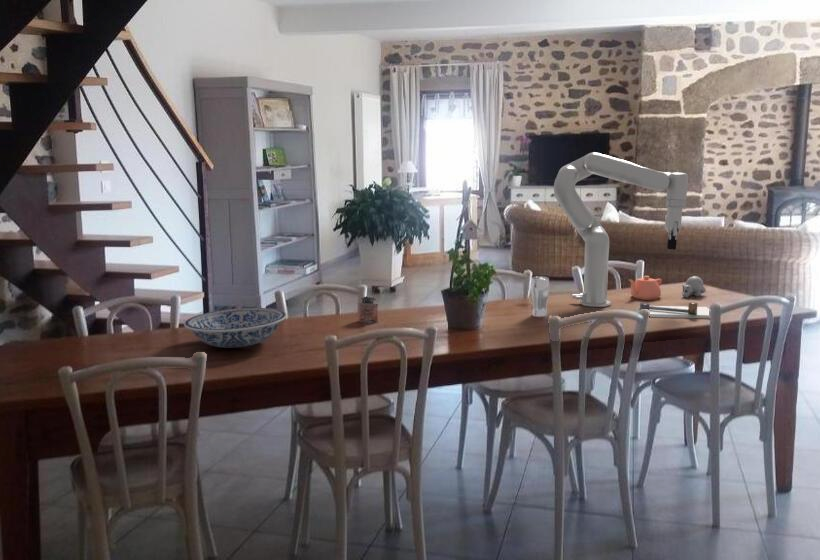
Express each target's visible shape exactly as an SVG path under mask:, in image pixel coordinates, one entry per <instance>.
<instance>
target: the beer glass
mask: <svg viewBox="0 0 820 560" xmlns="http://www.w3.org/2000/svg"><path fill="white" fill-rule="evenodd" d="M530 284H531V287H530V288H531V290H530V292H531V293H530V294H531V299H532V313H531V316H532V317H535V318H546V317H548V316H549V315H548V308H547V307H548V306H547V305H548V302H549V301H548V300H549V295H550V278H549V277H547V276H533V277H531V283H530Z"/></svg>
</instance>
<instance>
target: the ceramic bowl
mask: <svg viewBox="0 0 820 560" xmlns="http://www.w3.org/2000/svg"><path fill="white" fill-rule="evenodd" d="M285 319H287V313H286V312H285V311H284V310H280V309H276V308H269V307H243V308H241V307H239V308H230V309H222V310H216V311H210V312H206V313H201V314H198V315H195V316H193V317H190V318H188V319H187V320H185V321H184V323H183V327H184V328H186V329H187V330H190V331H192V333H193V335H195V336H196V338H197V339H198V340H200V341H201V342H202V343H204V344H206V345H209V346H212V347H216V348H222V349H223V348H227V349H229V348H230V349H231V348H242V347H248V346H253V345H256V344H259V343H262V342H264V341H266V340H267V339H268V338H270V337H271V336H272V335H273V334H275V332H276V331H277V329H278V328H279V325H280V324H281V322H283V321H285Z"/></svg>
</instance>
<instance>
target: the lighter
mask: <svg viewBox="0 0 820 560" xmlns="http://www.w3.org/2000/svg"><path fill="white" fill-rule="evenodd" d="M374 301H375V302H374ZM376 301H377V297H376V296H370V295H367V296H361V301H359V302H358V305H359V307H358V308H359V319H358V321H359V322H360V323H366V322H367V323H368V324H379V309H378V307H379V303H378V302H376Z"/></svg>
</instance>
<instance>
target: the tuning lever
mask: <svg viewBox="0 0 820 560" xmlns="http://www.w3.org/2000/svg"><path fill="white" fill-rule="evenodd" d="M698 305H699V304H698V303H697V302H691V301H690V302H688V306H687V307H688V310H687V309H676V308H665V307H654V306H655V305H650V303H648V302H641V303H640V304H639V306H640V309H648V310H649V309H651V310H662V311H673V312H684V313H688V314H697V307H698ZM640 309H639V310H640Z"/></svg>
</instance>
